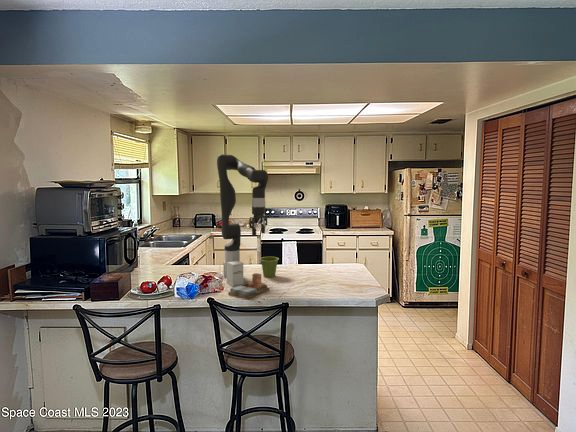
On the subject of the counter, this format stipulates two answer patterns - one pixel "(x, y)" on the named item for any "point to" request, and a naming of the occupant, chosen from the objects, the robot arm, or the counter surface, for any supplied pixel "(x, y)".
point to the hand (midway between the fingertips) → (258, 234)
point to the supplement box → (235, 273)
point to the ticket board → (259, 291)
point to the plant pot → (269, 266)
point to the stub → (256, 281)
